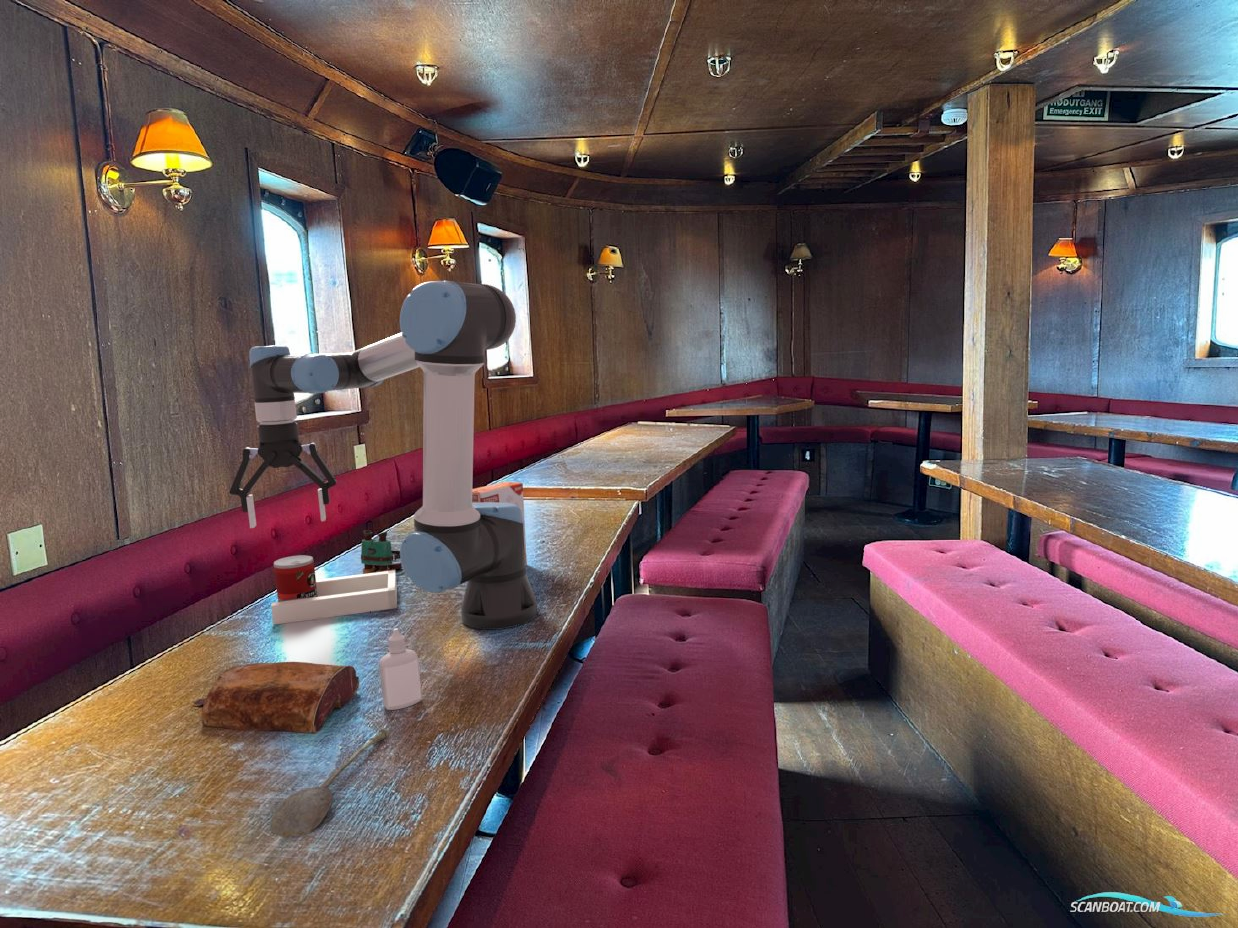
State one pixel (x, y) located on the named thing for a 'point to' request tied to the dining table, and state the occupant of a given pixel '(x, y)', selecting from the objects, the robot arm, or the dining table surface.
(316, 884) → the dining table surface
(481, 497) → the cracker box
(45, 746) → the dining table surface
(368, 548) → the binoculars
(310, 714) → the cured meat
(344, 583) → the white rectangular tray
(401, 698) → the eye dropper bottle
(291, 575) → the canned food
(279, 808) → the soupspoon
